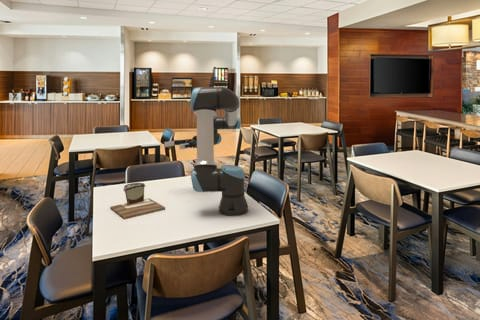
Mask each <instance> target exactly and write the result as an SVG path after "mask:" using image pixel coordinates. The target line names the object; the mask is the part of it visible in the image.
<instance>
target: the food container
mask: <svg viewBox="0 0 480 320" xmlns="http://www.w3.org/2000/svg"><path fill="white" fill-rule="evenodd" d="M145 187H146V184H145V183H144V182H132V183H127V184H125V185H124V186H123V192H124V194H125V200H126V203H127V205H132V204H136V203H139V202H143V201H144V199H145Z"/></svg>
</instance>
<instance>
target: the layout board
mask: <svg viewBox="0 0 480 320" xmlns="http://www.w3.org/2000/svg"><path fill="white" fill-rule="evenodd" d="M109 209H110V210H111V211H113V212H114V213H115V214H117V215H118V216H119V217H120V218H122V219H123V220H127V219H131V218H136V217H140V216H144V215H148V214H151V213H152V214H153V213H155V212H159V211H160V212H161V211H164V210H166V206H164V205H162V204H160V203H158V202H157V201H155V200H153V199H151V198H144V201H143V202H139V203H136V204H132V205H127V202H126V203H121V204H118V205H112V206H110V207H109Z"/></svg>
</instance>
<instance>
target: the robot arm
mask: <svg viewBox="0 0 480 320" xmlns="http://www.w3.org/2000/svg"><path fill="white" fill-rule="evenodd" d="M239 108H240V99H239V97H238V95H237V94H236V93H235V92H234V91H233V90H231V89H230V88H227V87H223V86H219V87H217V86H216V87H215V86H214V87H212V86H211V87H210V86H208V87H206V86H205V87H202V86H201V87H195V88H193V89H192V92H191V96H190V110H191V111H193V114H194V115H195V116H196V135H193V137H191V138H188V139H187V138H186V139H173V140H171V141H170V140H169V141H164V148H169V147H175V146H179V150H185V149H196V163H195V164H194V165H193V168H191V169H190V178H191V179H190V180H191V185H192V188H193V190H194V191H195V192H197V193H216V192H217V193H219V192H220V193H221V198H220V202H219V205H218V212H219V214H221V215H224V216H241V215H244V214H247V213H248V212H249V205H248V203H247V202H248V201H247V199H246V196H245V178H246V177H245V170H244V169H243V168H242V167H241V166H238V165H233V164H223V165H221V166H220V168H218V165H217V164H216V163H215V154H214V152H215V148H214V147H215V146H216V145H219V144H221V142H222V136H221V133H220V132H218V130H240V129H241V117H239V116H238V110H239ZM219 110H221V111H222V110H224V111H223V113H224V117H221V116H220V117H219V116H218V115H217V111H219Z"/></svg>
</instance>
